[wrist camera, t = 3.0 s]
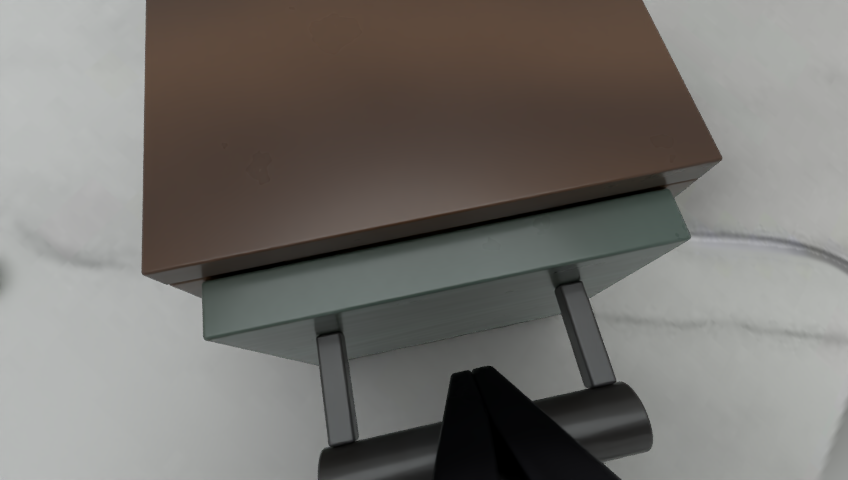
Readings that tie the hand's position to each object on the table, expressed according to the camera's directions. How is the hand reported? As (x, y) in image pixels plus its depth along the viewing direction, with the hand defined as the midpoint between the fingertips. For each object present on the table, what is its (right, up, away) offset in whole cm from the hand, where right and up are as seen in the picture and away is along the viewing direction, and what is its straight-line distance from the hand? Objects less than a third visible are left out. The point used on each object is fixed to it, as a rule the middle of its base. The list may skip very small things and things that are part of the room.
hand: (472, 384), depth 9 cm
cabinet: (-2, +6, +11) cm, 13 cm away
